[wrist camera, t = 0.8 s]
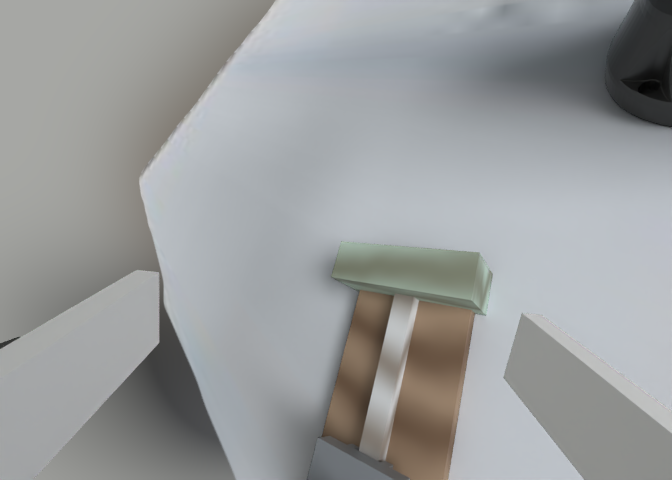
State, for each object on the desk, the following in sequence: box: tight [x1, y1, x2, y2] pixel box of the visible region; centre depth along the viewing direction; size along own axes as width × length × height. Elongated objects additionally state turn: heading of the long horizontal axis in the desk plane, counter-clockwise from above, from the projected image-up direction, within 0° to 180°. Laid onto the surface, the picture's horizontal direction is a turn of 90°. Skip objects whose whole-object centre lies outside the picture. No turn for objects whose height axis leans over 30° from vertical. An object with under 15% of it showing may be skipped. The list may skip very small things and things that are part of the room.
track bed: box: [322, 241, 492, 480], centre depth 30 cm, size 30×14×6 cm, turn 161°
